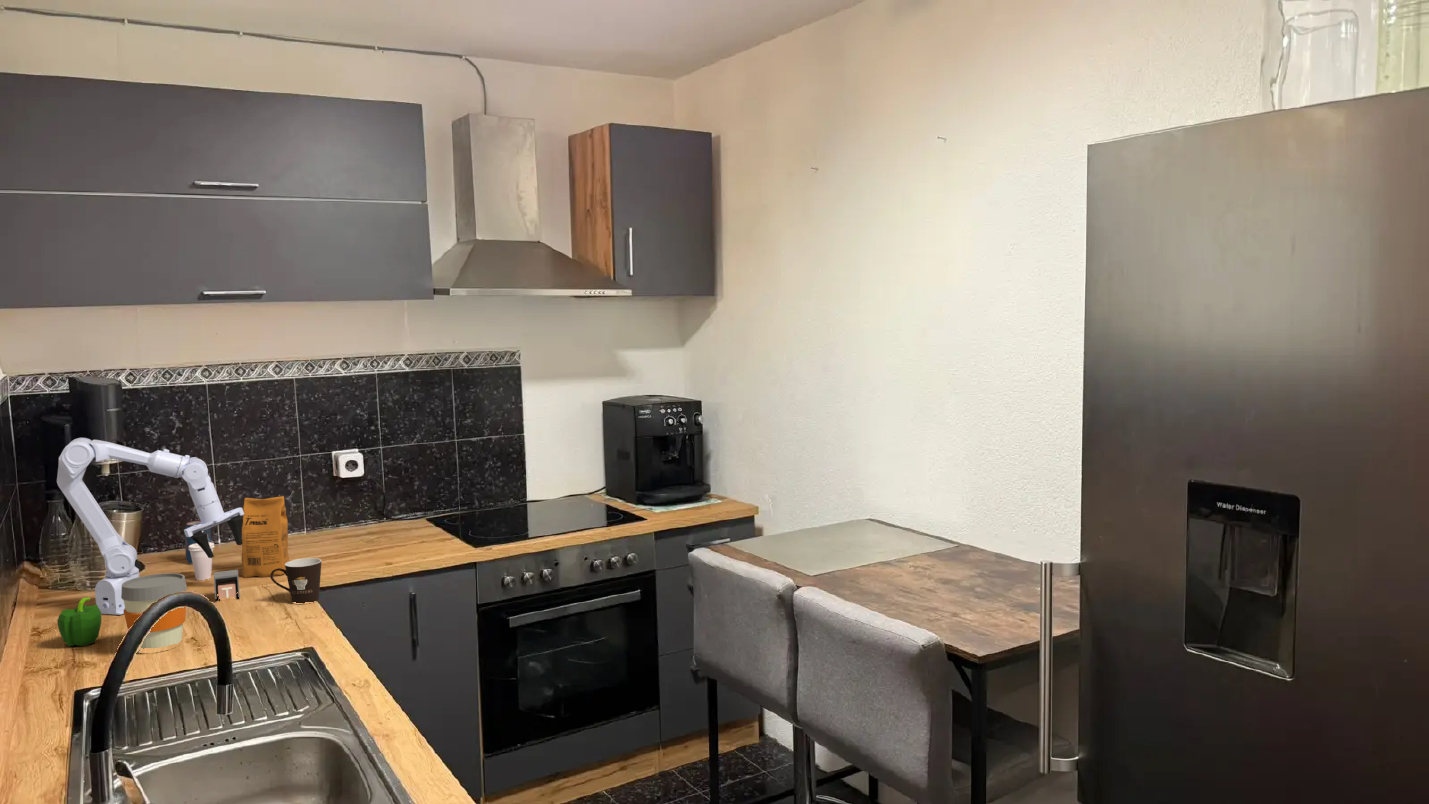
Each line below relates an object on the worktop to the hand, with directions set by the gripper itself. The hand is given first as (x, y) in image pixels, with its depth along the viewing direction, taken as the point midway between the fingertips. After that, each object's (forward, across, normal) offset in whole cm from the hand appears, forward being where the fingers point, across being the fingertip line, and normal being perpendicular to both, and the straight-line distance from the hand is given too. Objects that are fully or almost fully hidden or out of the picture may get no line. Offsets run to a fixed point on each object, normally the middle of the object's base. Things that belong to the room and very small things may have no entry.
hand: (225, 550), depth 249 cm
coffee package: (+14, +13, +14) cm, 23 cm away
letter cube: (+11, -4, -2) cm, 12 cm away
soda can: (+10, +6, +43) cm, 45 cm away
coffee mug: (+16, +6, -20) cm, 26 cm away
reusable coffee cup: (+8, -30, -29) cm, 42 cm away
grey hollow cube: (+11, -4, -2) cm, 12 cm away
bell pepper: (+4, -39, -13) cm, 41 cm away
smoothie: (+10, -1, +22) cm, 24 cm away
